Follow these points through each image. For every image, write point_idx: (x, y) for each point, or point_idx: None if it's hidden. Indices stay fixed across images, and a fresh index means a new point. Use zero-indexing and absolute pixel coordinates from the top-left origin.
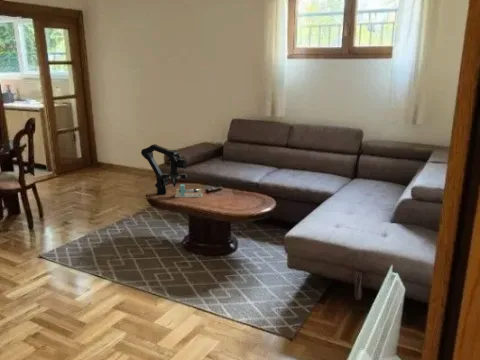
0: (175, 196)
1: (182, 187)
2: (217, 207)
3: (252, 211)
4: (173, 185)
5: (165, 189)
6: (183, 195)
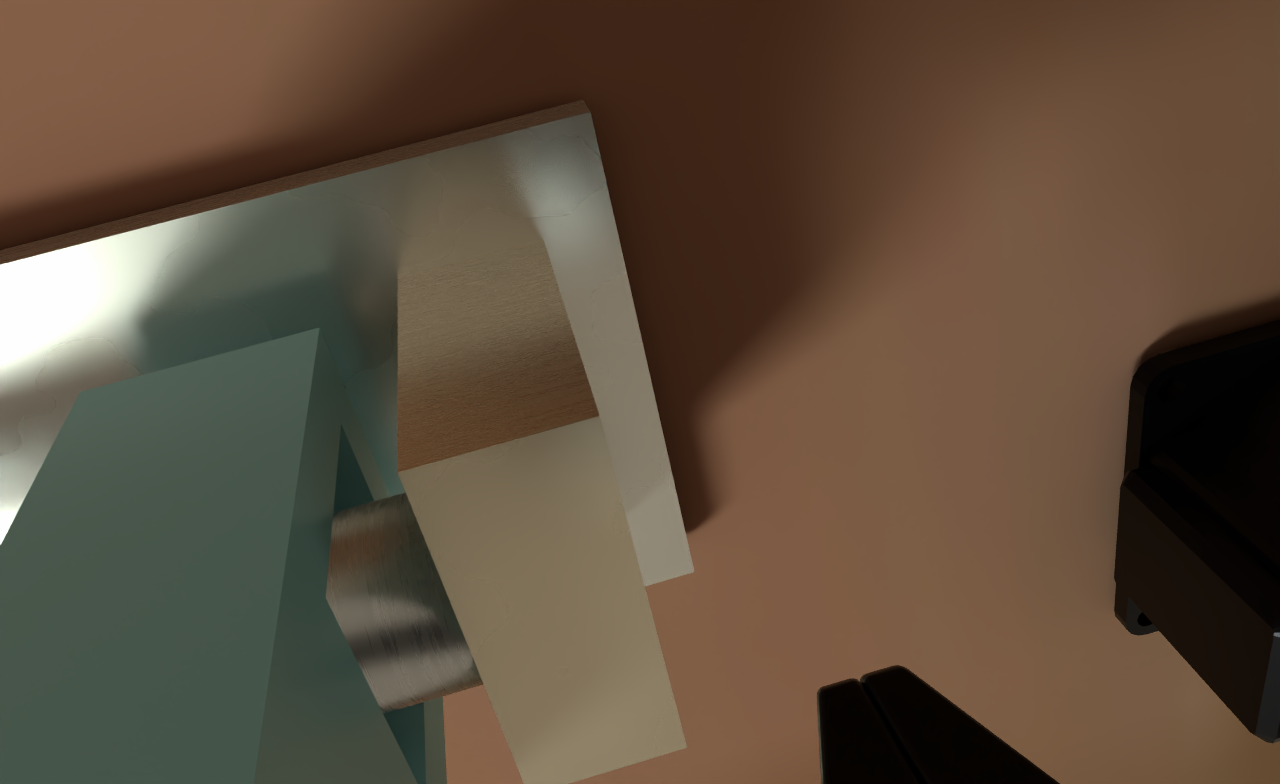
0: (571, 131)
1: (50, 736)
2: None
3: None
4: (989, 733)
5: (1266, 585)
6: None
